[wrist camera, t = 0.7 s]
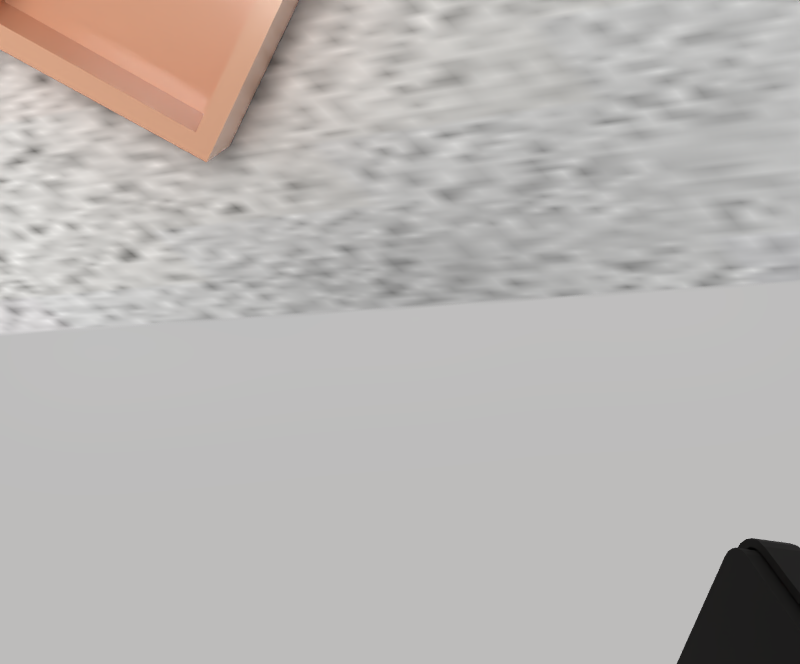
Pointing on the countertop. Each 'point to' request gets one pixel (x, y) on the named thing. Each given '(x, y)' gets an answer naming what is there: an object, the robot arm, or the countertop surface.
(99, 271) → the countertop surface
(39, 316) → the countertop surface
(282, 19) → the salmon open box
